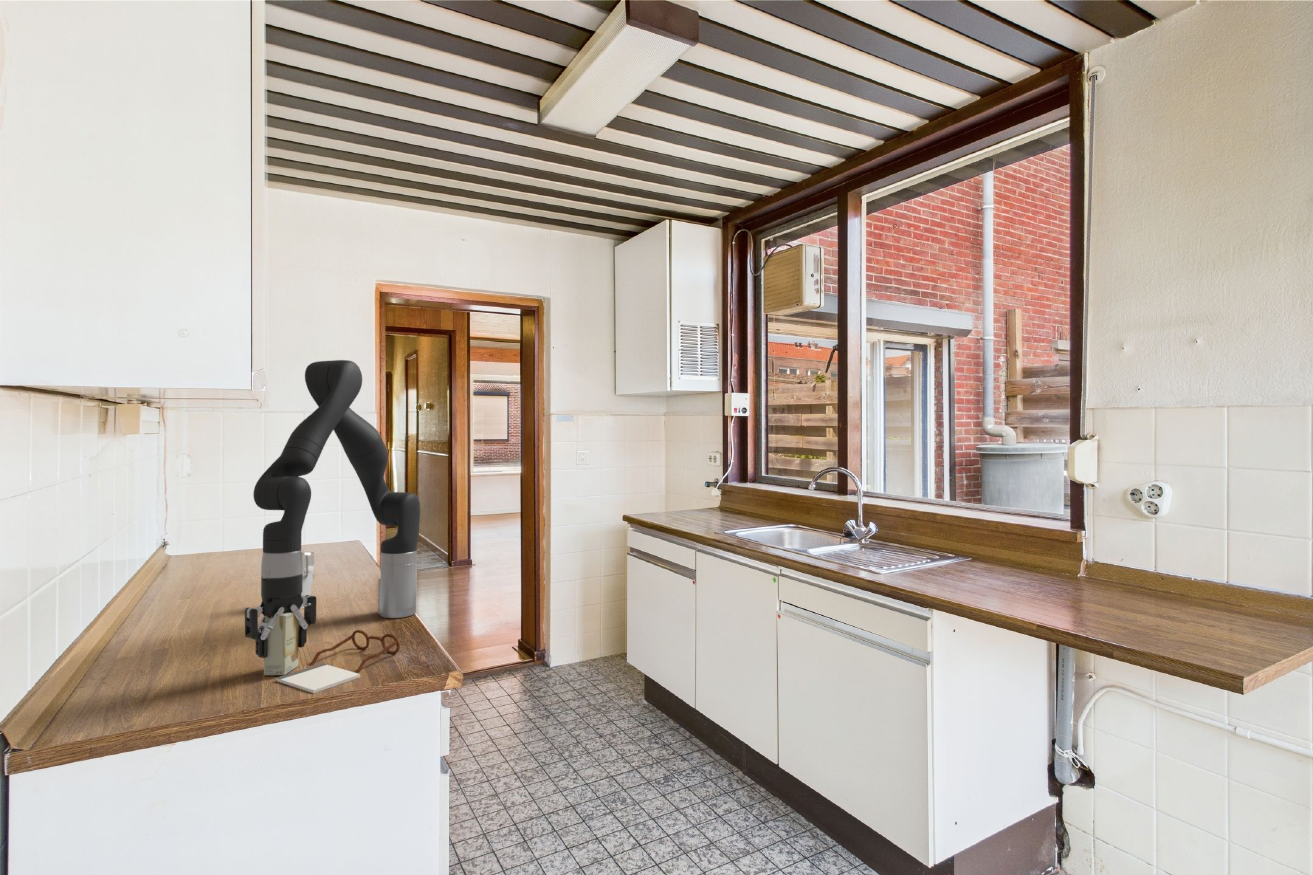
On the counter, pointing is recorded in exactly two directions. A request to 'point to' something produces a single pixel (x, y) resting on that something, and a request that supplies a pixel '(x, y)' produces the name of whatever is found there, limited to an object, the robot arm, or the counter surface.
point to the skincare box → (282, 645)
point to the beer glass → (307, 573)
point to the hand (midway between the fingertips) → (281, 651)
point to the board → (318, 678)
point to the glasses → (385, 649)
